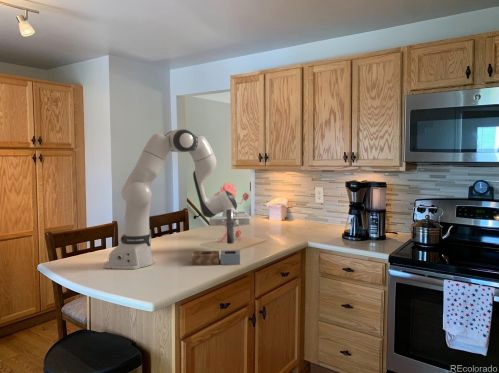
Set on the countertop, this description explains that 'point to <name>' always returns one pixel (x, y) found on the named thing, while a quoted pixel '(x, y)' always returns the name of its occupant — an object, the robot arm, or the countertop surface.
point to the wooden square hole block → (205, 258)
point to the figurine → (245, 196)
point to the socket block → (230, 257)
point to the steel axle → (230, 226)
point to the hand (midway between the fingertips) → (230, 223)
